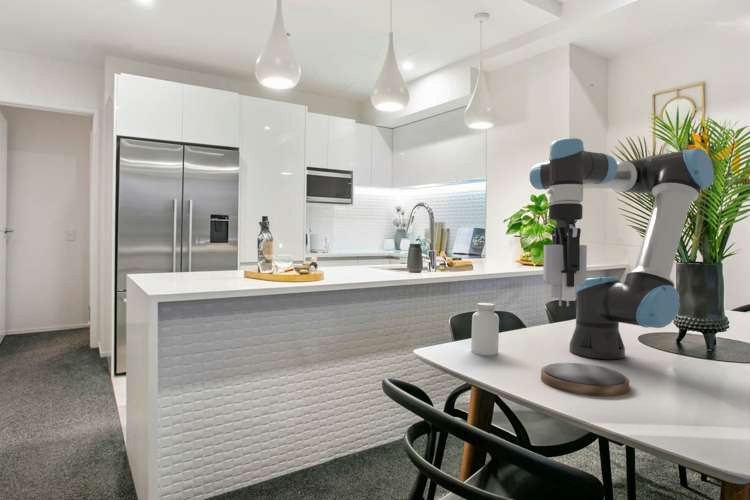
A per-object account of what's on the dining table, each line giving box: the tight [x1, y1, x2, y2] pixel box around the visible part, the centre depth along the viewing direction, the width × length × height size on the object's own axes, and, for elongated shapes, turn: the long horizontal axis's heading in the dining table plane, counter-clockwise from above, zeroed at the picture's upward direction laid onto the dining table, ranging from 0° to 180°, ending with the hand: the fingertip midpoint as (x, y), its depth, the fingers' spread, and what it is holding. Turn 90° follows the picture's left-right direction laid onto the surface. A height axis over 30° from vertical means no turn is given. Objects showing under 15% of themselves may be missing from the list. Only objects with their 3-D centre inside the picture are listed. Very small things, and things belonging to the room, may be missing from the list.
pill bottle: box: [470, 302, 500, 356], centre depth 135 cm, size 8×8×15 cm
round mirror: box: [540, 362, 630, 397], centre depth 106 cm, size 19×19×2 cm
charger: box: [542, 244, 588, 307], centre depth 108 cm, size 5×9×15 cm, turn 78°
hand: (564, 298), depth 108 cm, fingers closed on charger, 5 cm apart
